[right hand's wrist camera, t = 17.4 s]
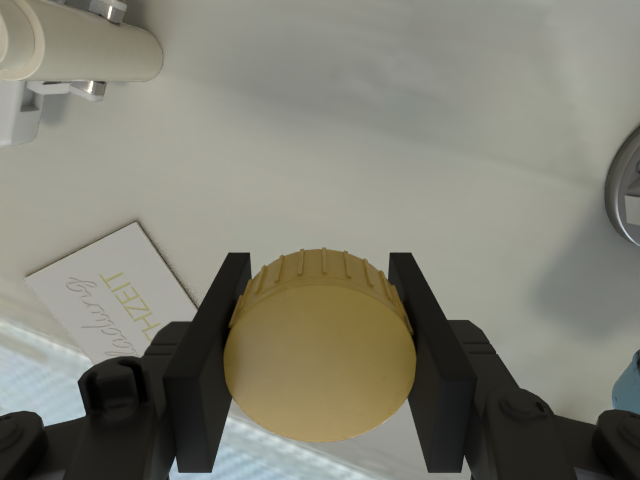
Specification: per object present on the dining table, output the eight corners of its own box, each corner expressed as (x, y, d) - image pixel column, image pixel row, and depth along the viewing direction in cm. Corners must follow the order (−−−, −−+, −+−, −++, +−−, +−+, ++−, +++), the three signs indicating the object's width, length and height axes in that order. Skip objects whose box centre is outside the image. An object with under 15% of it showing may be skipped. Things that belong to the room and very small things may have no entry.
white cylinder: (103, 37, 36) (-106, -7, 18) (148, 18, 35) (-22, -45, 18) (127, 88, 37) (-43, 94, 20) (171, 71, 37) (37, 61, 19)
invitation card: (240, 373, 48) (137, 415, 51) (240, 371, 49) (137, 414, 51) (135, 221, 41) (21, 279, 44) (136, 221, 42) (23, 278, 44)
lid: (308, 414, 14) (306, 472, 12) (201, 312, 12) (177, 357, 10) (435, 334, 13) (458, 382, 11) (333, 210, 11) (336, 239, 9)
